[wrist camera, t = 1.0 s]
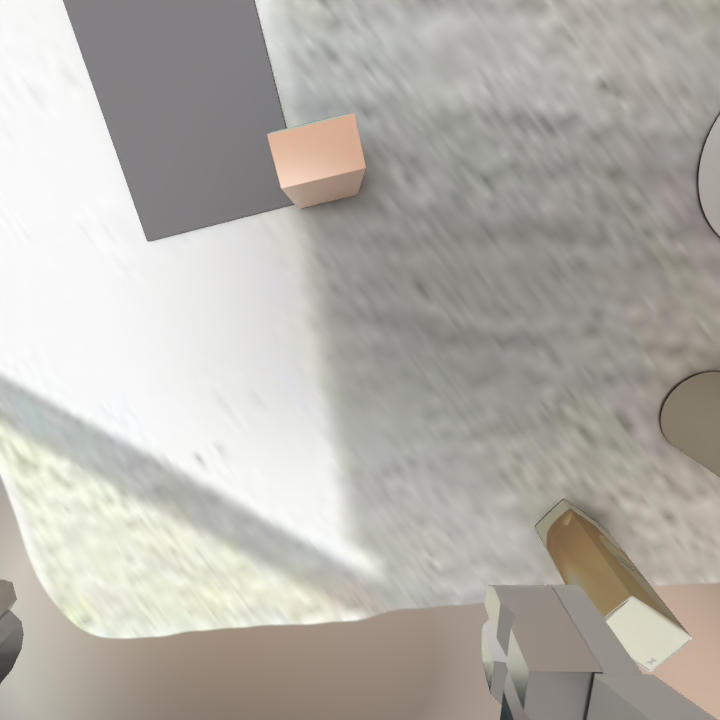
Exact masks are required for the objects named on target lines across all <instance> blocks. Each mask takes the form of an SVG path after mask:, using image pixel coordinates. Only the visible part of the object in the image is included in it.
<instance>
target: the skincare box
mask: <svg viewBox="0 0 720 720" xmlns="http://www.w3.org/2000/svg"><path fill="white" fill-rule="evenodd" d="M535 528H536V530H537V532H538V534H539V536H540V538H541V540H542V542H543V543H544V545H545V547H546V549H547V551H548V553H549V555H550V557H551V558H552V560H553V562H554V564H555V566H556V568H557V570H558V572H559V573H560V575H561V577H562V579H563V581H564V583H565V585H573V584H577V585H578V586H580V587H581V588H583V589H584V591H585V592H586V593H587V595H588V596H589V598H590V599H591V601H592V602H593V603H594V605H595V606H596V608H597V609H598V611H599V612H600V613H601V615H602V616H603V618H604V619H605V621H606V622H607V624H608V625H609V626H610V628H611V629H612V631H613V632H614V634H615V635H616V636H617V638H618V639H619V641H620V642H621V644H622V645H623V646H624V648H625V649H626V651H627V652H628V654H629V655H630V656H631V658H632V659H633V661H634V662H635V663H637V664H638V665H640V666H641V667H643V668H644V669H646V670H647V671H649V672H652V671H653V670H654V669H655V668H657V667H658V666H659V665H661V664H662V663H663V662H664V661H666V660H667V659H668V658H669V657H671V656H672V655H673V654H675V653H676V652H677V651H678V650H680V649H681V648H682V647H683V646H684V645H685V644H687V643H688V642H689V641H690V640H692V637H691V636H690V635H689V634H688V632H687V631H686V630H685V629H684V627H683V626H682V625H681V624H680V622H679V621H678V620H677V619H676V617H675V616H674V615H673V614H672V612H671V611H670V610H669V608H668V607H667V606H666V605H665V603H664V602H663V601H662V600H661V598H660V597H659V596H658V595H657V593H656V592H655V591H654V589H653V588H652V587H651V586H650V584H649V583H648V582H647V580H646V579H645V578H644V577H643V575H642V574H641V573H640V571H639V570H638V569H637V568H636V566H635V565H634V564H633V563H632V561H631V560H630V559H629V558H628V556H627V555H626V554H625V552H624V551H623V550H622V549H621V547H620V546H619V545H618V543H617V542H616V541H615V540H614V538H613V537H612V536H611V534H610V533H609V532H608V531H607V530H606V529H605V528H603V527H602V526H601V525H600V524H598V523H597V522H596V521H594V520H593V519H592V518H590V517H589V516H588V515H586V514H585V513H583V512H582V511H580V510H579V509H577V508H576V507H575V506H573V505H572V504H570V503H569V502H567V501H566V500H562V501H561V502H560V503H559V504H558V505H557V506H556V507H555V508H553V509H552V510H551V511H550V512H549V513H548V514H547V515H546V516H545V517H544V518H543V519H542V520H541V521H540V522H539V523H538V524H537V525H536V526H535Z"/></svg>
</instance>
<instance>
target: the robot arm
mask: <svg viewBox="0 0 720 720" xmlns="http://www.w3.org/2000/svg"><path fill="white" fill-rule="evenodd" d="M699 194H700V200H701V204H702V208H703V211H704V213H705V216H706V218H707V220H708V221H709V223H710V225H711V226H712V228H713V229H714V230H715V232H716V233H717V234H718V235H719V236H720V115H719V117H718V118H717V120H716V122H715V124H714V125H713V127H712V129H711V131H710V133H709V136H708V138H707V140H706V143H705V146H704V149H703V153H702V157H701V161H700V168H699ZM16 599H17V598H16V594H15V591H14V587H13V584H12V582H8V581H6V580H2V579H0V683H1V682H2V681H3V680H4V678H5V677H6V676H7V675H8V674H9V672H10V671H11V670H12V668H13V666H14V664H15V662H16V659H17V657H18V655H19V653H20V651H21V648H22V641H23V628H22V623H21V621H20V620H19V619H18V618H17V617H16V616H15V615H14V614H13V613H12V612H11V611H10V609H11V608H12V606H13V604H14V603H15V601H16ZM484 605H485V608H486V610H487V613H488V616H489V620H488V621H487V622H486V623H485V624H484V625H483V627H482V639H481V647H482V660H483V666H484V671H485V676H486V680H487V683H488V686H489V690H490V693H491V694H492V695H493V697H495V699H496V700H497V701H498V702H499V703H500V704H501V705H502V707H501V716H500V720H717V719H716V718H714V717H713V716H711V715H710V714H709V713H707V712H706V711H704V710H703V709H702V708H700V707H699V706H697V705H696V704H694V703H693V702H692V701H690V700H689V699H687V698H686V697H684V696H683V695H681V694H680V693H678V692H677V691H676V690H674V689H673V688H672V687H670V686H669V685H667V684H666V683H664V682H663V681H662V680H660V679H659V678H657V677H656V676H654V675H648V674H642V672H641V671H640V669H639V668H638V666H637V665H636V664H635V662H634V661H633V659H632V658H631V656H630V655H629V654H628V652H627V651H626V649H625V648H624V646H623V645H622V644H621V642H620V641H619V639H618V638H617V636H616V635H615V634H614V632H613V631H612V629H611V628H610V626H609V625H608V624H607V622H606V621H605V619H604V618H603V616H602V615H601V613H600V612H599V611H598V609H597V608H596V606H595V605H594V603H593V602H592V601H591V599H590V598H589V596H588V595H587V593H586V592H585V591H584V589H583V588H581V587H580V586H578V585H577V584H573V585H547V586H545V585H489V586H488V588H487V591H486V596H485V604H484Z"/></svg>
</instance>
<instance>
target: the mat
mask: <svg viewBox="0 0 720 720" xmlns="http://www.w3.org/2000/svg"><path fill="white" fill-rule="evenodd" d="M63 2H64V5H65V7H66V10H67V13H68V16H69V19H70V22H71V25H72V27H73V30H74V33H75V36H76V39H77V42H78V45H79V47H80V50H81V53H82V56H83V59H84V62H85V65H86V68H87V70H88V73H89V76H90V79H91V82H92V85H93V88H94V90H95V93H96V96H97V99H98V102H99V105H100V108H101V110H102V113H103V116H104V119H105V122H106V125H107V128H108V130H109V133H110V136H111V139H112V142H113V145H114V148H115V150H116V153H117V156H118V159H119V162H120V165H121V168H122V170H123V173H124V176H125V179H126V182H127V185H128V188H129V190H130V193H131V196H132V199H133V202H134V205H135V208H136V210H137V213H138V216H139V219H140V222H141V225H142V228H143V230H144V233H145V236H146V239H147V241H153V240H157V239H161V238H165V237H169V236H173V235H177V234H181V233H185V232H188V231H192V230H196V229H200V228H204V227H208V226H212V225H216V224H220V223H223V222H227V221H231V220H235V219H239V218H243V217H247V216H251V215H255V214H259V213H262V212H266V211H270V210H274V209H278V208H282V207H286V206H290V205H294V203H293V202H292V201H291V199H290V198H289V197H288V196H287V195H286V194H285V192H284V191H283V190H282V189H281V186H280V182H279V178H278V175H277V171H276V167H275V163H274V159H273V156H272V152H271V148H270V144H269V140H268V136H267V134H270V132H274V131H278V130H282V129H286V125H285V121H284V117H283V113H282V109H281V105H280V101H279V97H278V93H277V89H276V85H275V81H274V77H273V73H272V69H271V65H270V61H269V57H268V53H267V49H266V45H265V41H264V37H263V33H262V29H261V25H260V21H259V17H258V13H257V9H256V5H255V2H254V0H63Z"/></svg>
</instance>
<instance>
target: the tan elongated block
mask: <svg viewBox="0 0 720 720" xmlns="http://www.w3.org/2000/svg"><path fill="white" fill-rule="evenodd" d="M267 136H268V140H269V144H270V148H271V152H272V156H273V159H274V163H275V167H276V171H277V175H278V178H279V182H280V186H281V189H282V190H283V191H284V192H285V194H286V195H287V196H288V197H289V198H290V199H291V201H292V202H293V203H294V204H295V205H296V206H297V208H298V209H301V208H305V207H309V206H313V205H317V204H321V203H326V202H330V201H334V200H338V199H342V198H346V197H350V196H355V195H358V192H359V189H360V185H361V182H362V179H363V176H364V173H365V170H366V166H365V161H364V156H363V151H362V147H361V142H360V137H359V132H358V128H357V123H356V118H355V114H354V113H352V114H350V113H348V114H344V115H340V116H336V117H332V118H328V119H323V120H319V121H315V122H311V123H307V124H303V125H299V126H295V127H291V128H287V129H282V130H278V131H274V132H270V134H267Z"/></svg>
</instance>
